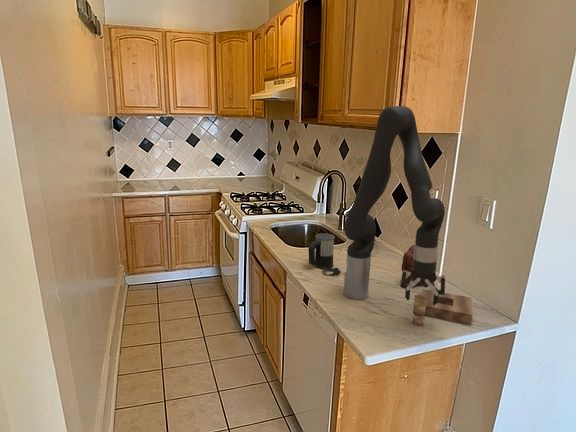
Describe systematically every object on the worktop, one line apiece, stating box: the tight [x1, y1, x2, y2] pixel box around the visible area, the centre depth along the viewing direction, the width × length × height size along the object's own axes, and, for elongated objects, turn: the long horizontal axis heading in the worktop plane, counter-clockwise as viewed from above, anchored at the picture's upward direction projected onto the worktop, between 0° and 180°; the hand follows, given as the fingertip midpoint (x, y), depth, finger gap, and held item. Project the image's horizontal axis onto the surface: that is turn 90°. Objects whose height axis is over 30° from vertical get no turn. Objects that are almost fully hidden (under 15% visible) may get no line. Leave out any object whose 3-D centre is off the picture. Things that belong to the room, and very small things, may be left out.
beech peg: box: [412, 294, 427, 326], centre depth 135 cm, size 4×4×10 cm
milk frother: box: [308, 233, 341, 275], centre depth 180 cm, size 14×16×15 cm
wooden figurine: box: [401, 244, 419, 288], centre depth 164 cm, size 12×6×18 cm, turn 108°
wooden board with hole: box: [420, 288, 473, 326], centre depth 144 cm, size 18×14×4 cm
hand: (421, 301), depth 134 cm, fingers open, 8 cm apart
